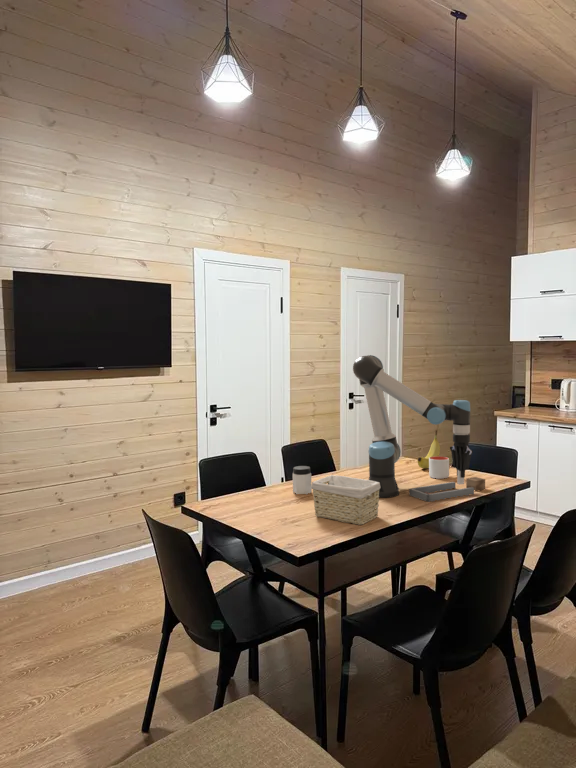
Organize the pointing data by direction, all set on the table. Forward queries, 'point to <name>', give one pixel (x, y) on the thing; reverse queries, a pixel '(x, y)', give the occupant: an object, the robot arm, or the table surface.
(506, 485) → the table surface
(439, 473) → the cup
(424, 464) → the banana
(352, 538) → the table surface
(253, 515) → the table surface
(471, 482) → the walnut block
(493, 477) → the table surface
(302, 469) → the jar
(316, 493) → the storage basket
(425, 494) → the trough
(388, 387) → the robot arm
